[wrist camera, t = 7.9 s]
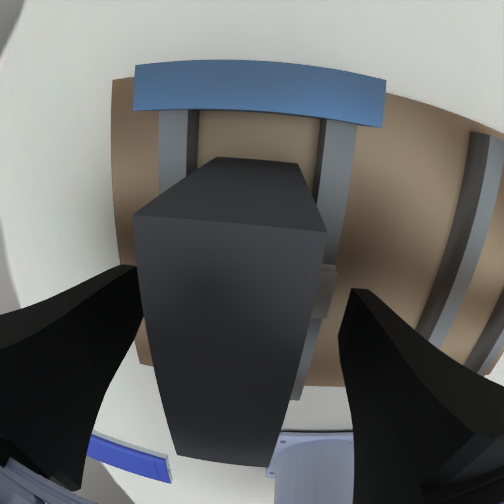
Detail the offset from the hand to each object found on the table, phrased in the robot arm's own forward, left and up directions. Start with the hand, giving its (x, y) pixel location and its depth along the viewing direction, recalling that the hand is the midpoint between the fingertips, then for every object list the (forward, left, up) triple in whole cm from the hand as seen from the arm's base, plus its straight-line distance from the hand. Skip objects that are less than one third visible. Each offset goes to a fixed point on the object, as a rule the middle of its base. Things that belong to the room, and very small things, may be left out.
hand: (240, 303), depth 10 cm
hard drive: (-26, +13, -5) cm, 30 cm away
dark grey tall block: (0, 0, -3) cm, 3 cm away
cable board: (0, -6, -4) cm, 7 cm away
